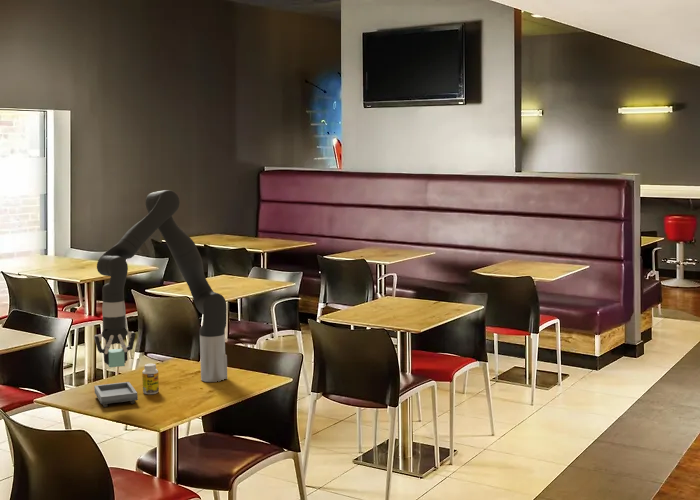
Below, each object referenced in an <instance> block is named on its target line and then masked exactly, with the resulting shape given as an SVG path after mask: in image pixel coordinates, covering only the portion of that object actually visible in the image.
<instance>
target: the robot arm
mask: <svg viewBox="0 0 700 500" xmlns="http://www.w3.org/2000/svg"><path fill="white" fill-rule="evenodd" d="M179 207H180V197H179V195H178V194H177V193H176V191H173V190H171V189H164V190H158V191H153V192H150V193H148V194H147V196H146V198H145V208H146V210H147V213H148V214H147V215H145V216H144V217H143V218H142V219H141V220H140V221H138V222H137V223H135V224H134V225H132V227H130V228H129V229H128V230H127V231H126V232H125V233H124V235H123V236H122V237H121V238H120V239H119V240H118V242H117V243H116V244H115V245H113V246H112V247H110V248H109V249H107V250H106V251H105V252H104V253H102V254H101V255H100V257H99V259H98V260H97V262H96V269H97V272H98V273H99V275H102V276H105V277H110V279H109V282H108V283H106V284H104V285H103V286H102V306H101V307H102V308H101V310H102V332H101V333H99V334H94V335H93V339H94V342H95V346H96V348H97V349H96V350H97V351H98V352H99V354H103V362H104V363H105V364H106V365H107V366H108V365H109V354H108V351H109V350H110V348H111V345H115V344H116V345H118V344H119V345H120V347H121V349H123V351H124V359H125V364H126V362H127V361H128V352H130V351H132V350H133V348H134V343H135V339H136V333H135V332H134V331H128V330H127V323H126V322H127V321H126V319H127V318H126V304H125V284H126V281H127V277H128V271H129V266H128V262H127V260H128V259H132V258H134V256H135V255H136V254H137V253H138V252H139V250H140V249H141V248H142V247H143V246H144V244H145V243H146V241H148V239H150V237H151V236H152V235H153V234H154V233H155V232H156V231H157V230H159V232H160V233H161V236H162V238H163V241H165V243H166V245H167V248H168V249H169V251H170V254H171V256H172V258H173V260H174V261H175V264H176V266H177V268H178V269H179V272H180V273H181V275H182V277H183V279H184V281H185V283H186V285H187V286H188V289H189V291H190V294H191V296H192V300H193V303H194V304H195V307H196V309H197V310H198V312H199V313H200V314H202V315H203V321H202V326H200V327H199V353H200V354H199V355H200V380H201V381H202V382H206V383H217V381H218V382H222V381H221V380H223V381H225V380H224V379H227V380H228V355H227V354H226V339H225V337H226V336H225V335H226V334H225V333H226V331H225V329H226V327H227V313H228V311H227V310H228V309H227V302H226V298H225V297H224V296H223V295H222V294H221V293H219V292H215V291H214V289H212V287H211V286H210V284H209V282H208V280H207V277H206V276H205V271H204V263H203V259H202V258H203V257H202V256H201V253H200V251H199V250H198V247H197V245H196V244H195V242H194V240H193V239H192V238H191V237H190V236H189V235H188V234H187V232H185V231H184V230H183V229H181V228H180V226H178V224H177V222H176V221H175V220H174V217H173V215H174V214H176V213H177V212H178V210H179ZM127 336H128V339H129V340H128V345H127V346H126V343H125V341H124V340H125V338H126V337H127ZM102 338H104V340H105V343H104V348H103V347H102V345H101V341H102Z"/></svg>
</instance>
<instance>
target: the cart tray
mask: <svg viewBox="0 0 700 500" xmlns="http://www.w3.org/2000/svg"><path fill="white" fill-rule="evenodd" d="M93 386H94V387H93V388H94V389H93V390H94V394H95V395H96V398H97V399H98V401H99V403H100V404H101V405H103V408H108V407H109V406H108V405H110V404H115V403H123V402H125V403H126V402H130V405H134V404H135V401H138V400H139V399H138V392H137V391H136V389H135V387H134V386H133V385H132V384H131V382H130V381H123V382H122V381H121V382H114V383H107V384H106V383H105V384H98V385H97V384H96V385H93Z"/></svg>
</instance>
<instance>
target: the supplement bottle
mask: <svg viewBox="0 0 700 500" xmlns="http://www.w3.org/2000/svg"><path fill="white" fill-rule="evenodd" d="M143 367H144V369H143V370H142V392H143V394H144V395H156V394H158V393H159V390H160V385H159V380H160V379H159V370H158V369H157V365H156V363H146V364H144V366H143Z"/></svg>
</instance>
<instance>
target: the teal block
mask: <svg viewBox="0 0 700 500" xmlns="http://www.w3.org/2000/svg"><path fill="white" fill-rule="evenodd" d="M108 354H109V365H107V366H108V368H119V367H125V366H126V365H125V364H126V363H125V359H124V351H123V349H122V348H112V349H109V351H108Z"/></svg>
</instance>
